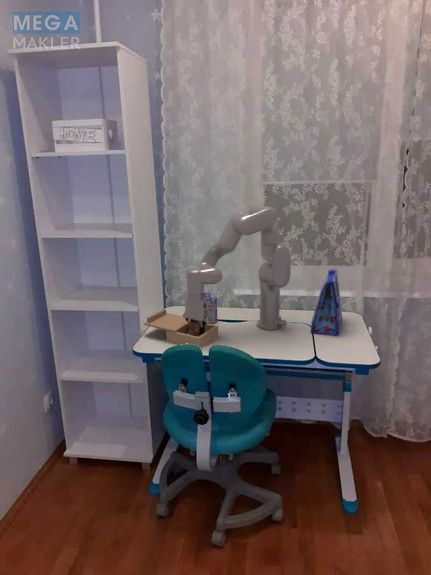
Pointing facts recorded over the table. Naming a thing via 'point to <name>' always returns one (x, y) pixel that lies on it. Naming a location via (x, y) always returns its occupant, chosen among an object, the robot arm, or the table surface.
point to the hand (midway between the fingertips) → (196, 332)
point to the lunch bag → (328, 307)
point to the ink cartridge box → (211, 308)
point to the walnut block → (194, 328)
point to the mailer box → (184, 337)
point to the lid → (166, 321)
